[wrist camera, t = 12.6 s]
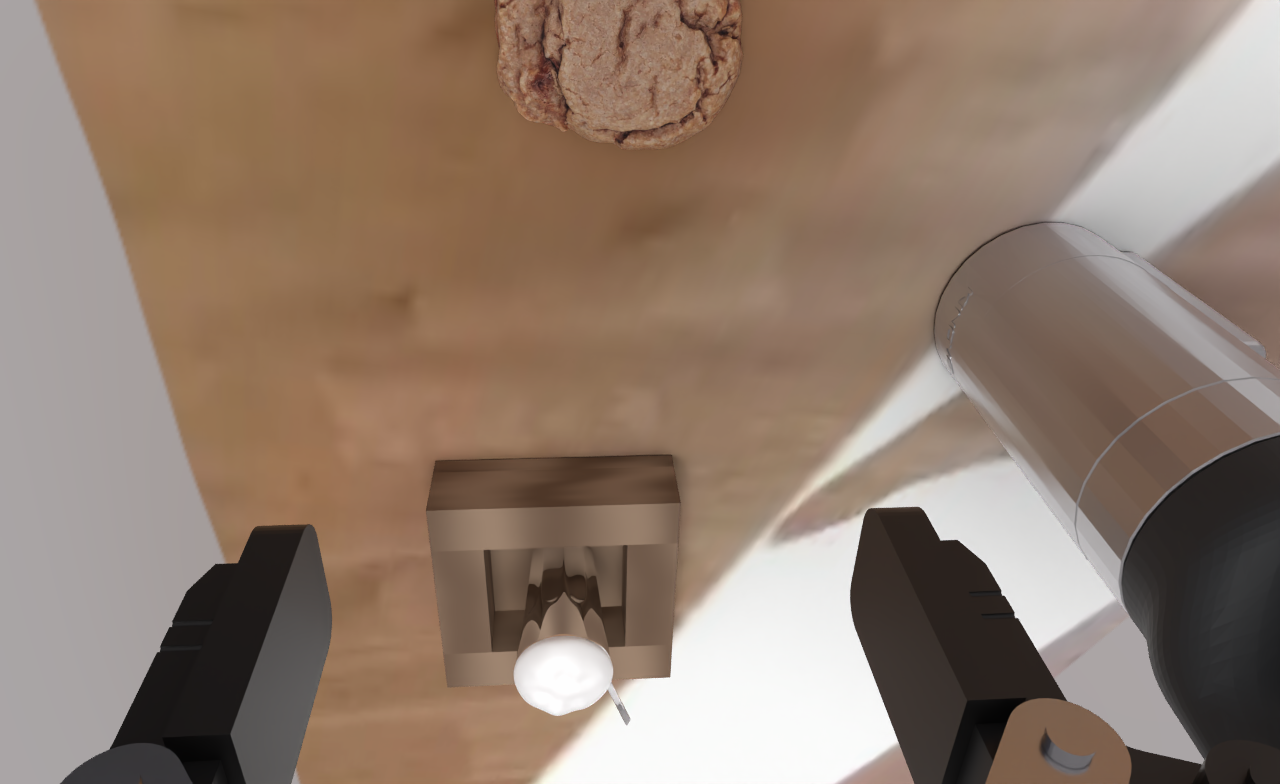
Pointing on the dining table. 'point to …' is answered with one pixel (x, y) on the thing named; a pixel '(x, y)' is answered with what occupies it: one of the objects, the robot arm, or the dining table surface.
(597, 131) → the cookie
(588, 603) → the milkshake
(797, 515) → the dining table surface
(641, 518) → the socket block
